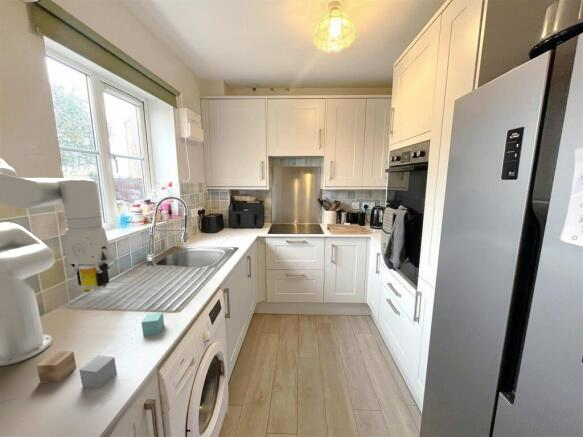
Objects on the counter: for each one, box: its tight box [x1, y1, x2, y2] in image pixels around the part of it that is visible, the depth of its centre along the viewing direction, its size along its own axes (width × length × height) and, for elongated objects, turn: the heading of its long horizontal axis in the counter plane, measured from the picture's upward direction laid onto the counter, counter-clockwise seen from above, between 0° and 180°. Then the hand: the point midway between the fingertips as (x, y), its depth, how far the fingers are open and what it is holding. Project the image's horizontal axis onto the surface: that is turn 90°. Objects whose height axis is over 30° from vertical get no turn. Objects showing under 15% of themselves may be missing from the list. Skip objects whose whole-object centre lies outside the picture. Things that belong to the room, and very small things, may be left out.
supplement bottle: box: [79, 263, 108, 294], centre depth 70 cm, size 6×6×10 cm
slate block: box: [79, 355, 117, 390], centre depth 62 cm, size 5×5×5 cm
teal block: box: [141, 312, 165, 337], centre depth 83 cm, size 5×5×5 cm
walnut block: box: [36, 350, 77, 383], centre depth 65 cm, size 5×5×5 cm
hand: (94, 283), depth 70 cm, fingers closed on supplement bottle, 5 cm apart
